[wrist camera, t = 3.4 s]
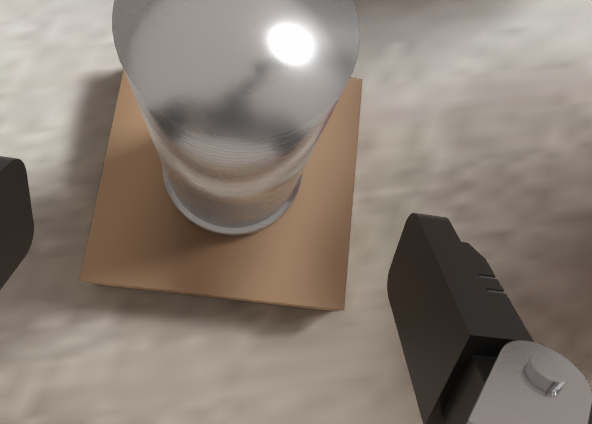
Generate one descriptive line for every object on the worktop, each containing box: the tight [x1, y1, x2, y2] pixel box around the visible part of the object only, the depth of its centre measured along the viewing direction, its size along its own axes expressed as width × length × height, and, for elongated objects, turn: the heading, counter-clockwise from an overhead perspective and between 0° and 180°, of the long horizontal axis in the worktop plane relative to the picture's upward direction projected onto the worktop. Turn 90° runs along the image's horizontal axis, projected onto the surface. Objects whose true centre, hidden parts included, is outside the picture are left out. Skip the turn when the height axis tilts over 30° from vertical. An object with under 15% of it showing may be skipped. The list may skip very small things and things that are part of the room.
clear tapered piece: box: [112, 0, 359, 237], centre depth 15 cm, size 5×5×10 cm
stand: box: [80, 70, 362, 311], centre depth 20 cm, size 10×10×2 cm
